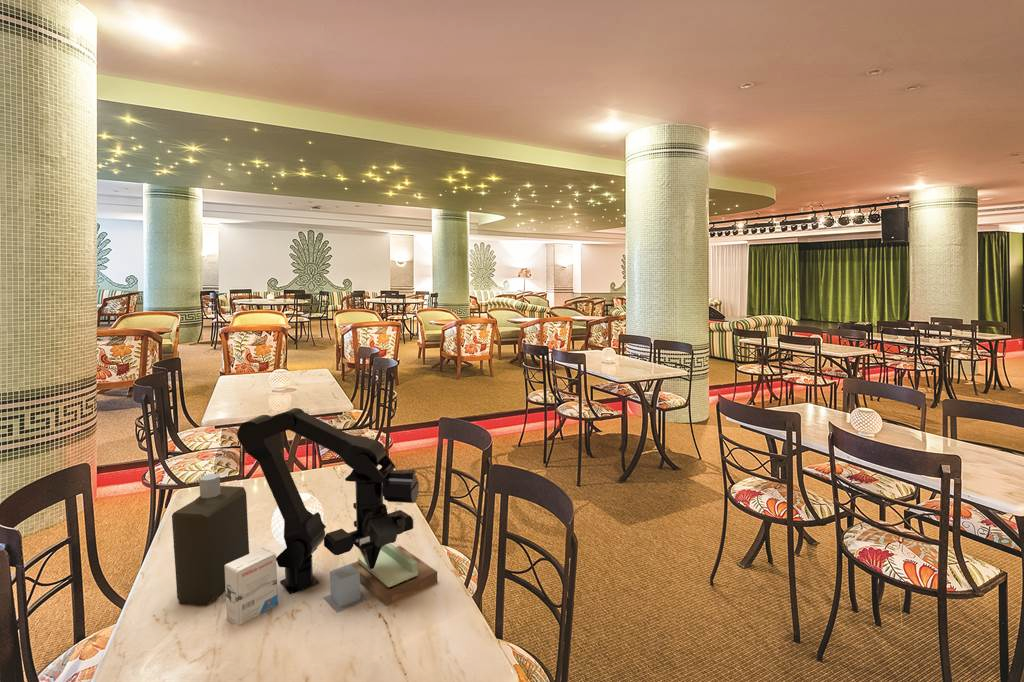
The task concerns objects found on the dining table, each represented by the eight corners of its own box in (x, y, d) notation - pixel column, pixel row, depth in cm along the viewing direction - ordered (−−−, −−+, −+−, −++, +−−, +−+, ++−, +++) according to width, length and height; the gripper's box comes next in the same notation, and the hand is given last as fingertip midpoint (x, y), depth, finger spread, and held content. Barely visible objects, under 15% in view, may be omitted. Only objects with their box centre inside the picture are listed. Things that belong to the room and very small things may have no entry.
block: (330, 597, 115) (330, 571, 115) (350, 589, 118) (350, 563, 118) (340, 607, 112) (339, 579, 111) (360, 598, 115) (359, 572, 114)
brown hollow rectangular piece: (350, 576, 124) (350, 563, 124) (400, 557, 133) (399, 545, 133) (385, 607, 113) (385, 593, 112) (437, 584, 121) (437, 571, 121)
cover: (358, 562, 124) (357, 549, 124) (386, 551, 129) (385, 539, 129) (388, 587, 114) (388, 574, 114) (417, 575, 119) (417, 562, 118)
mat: (322, 599, 115) (322, 597, 115) (353, 586, 120) (353, 585, 120) (337, 614, 110) (337, 612, 110) (368, 600, 115) (368, 599, 115)
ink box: (265, 598, 116) (262, 546, 114) (279, 606, 113) (277, 552, 112) (225, 619, 108) (222, 563, 107) (239, 628, 106) (236, 571, 104)
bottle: (253, 567, 128) (248, 465, 125) (208, 608, 112) (201, 492, 109) (221, 565, 129) (215, 463, 126) (173, 605, 113) (165, 490, 110)
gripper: (345, 525, 105) (347, 601, 106) (426, 499, 117) (427, 567, 119) (321, 507, 113) (324, 577, 115) (400, 485, 125) (401, 549, 127)
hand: (371, 568), depth 119 cm, fingers closed
